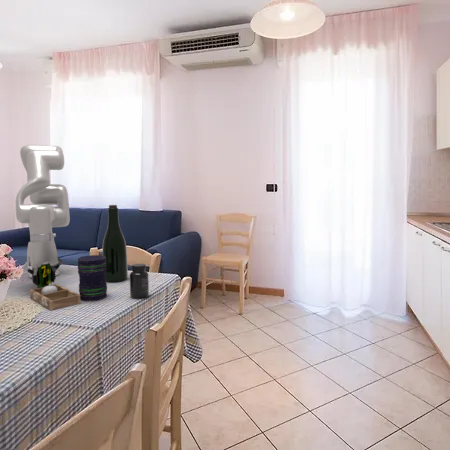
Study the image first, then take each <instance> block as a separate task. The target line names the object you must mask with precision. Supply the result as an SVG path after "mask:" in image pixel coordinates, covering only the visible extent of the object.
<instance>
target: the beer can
mask: <svg viewBox="0 0 450 450" xmlns="http://www.w3.org/2000/svg"><path fill="white" fill-rule="evenodd" d="M37 275H38V282H39V285H36V289H37V288H42V287H46V286H49V284H50V283H51V285H50V286H52V285H53V282H52V276H51V266H50V263H48V261H44V262H43V263H42V264H41V267H39V268H38V271H37Z"/></svg>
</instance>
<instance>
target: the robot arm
mask: <svg viewBox="0 0 450 450" xmlns="http://www.w3.org/2000/svg"><path fill="white" fill-rule="evenodd" d="M19 151H20V152H19V154H20V160H21V162H22V166H23V167H24V170H25V171H26V177H27V179H26V181H27V182H26V183H25V184H23V186H21V188H20V189H19V191H18V192H17V194H16V198H15V217H16V220H17V222H19V223H21V224H28V228H29V229H28V230H29V236H30V237H29V239H30V241H28V244H27V253H26V254H27V255H26V262H25V263H24V264H23V265H22V267H21V269H22V270H24V271H25V272H27V273H29V274H28V278H30V279H31V280H32V283H33V284H34V286H37V285H39V282H38V275H37V271H38V268H39V267H41V264H42V263H43V262H44V261H48V263H50V266H51V276H52V283H55V280H56V277H57V276H60V270H58V269H59V268H60V267H61V265H62V264H63V263H64V261H63V260H62V259H61V258H60V257H59V256H58V250H57V246H56V242H55V237H57V235H56V233H53V228H63V227H67V226H69V224H70V221H71V219H70V218H71V217H70V216H71V215H70V204H69V194H68V188H67V187H66V186H65V185H63V184H58V183H57V184H56V183H55V184H54V183H53V184H51V177H50V176H51V175H50V171H51V170H52V171H61V170H63V169H64V167H65V156H64V152H63V149H62V148H61V146H59V145H48V144H47V145H46V144H45V145H44V144H27V145H23V146H21V148H20V150H19ZM28 197H29V199H30V202H31V204H24V201H25V200H26V198H28ZM54 205H56V206H54ZM29 267H31V268H29Z"/></svg>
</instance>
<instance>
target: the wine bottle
mask: <svg viewBox="0 0 450 450" xmlns="http://www.w3.org/2000/svg"><path fill="white" fill-rule="evenodd" d="M107 215H108V216H107V219H108V220H107V228H106V231H105V234H104V238H103V241H102V249H101V251H102V256H105V257H106V259H105V261H106V272H105V274H106V282H107V283H118V282H123V281H125V280H127V279H128V278H129V276H128V275H129V274H128V273H129V271H128V255H127V254H128V253H127V244H126V243H127V242H126V239H125V236H124V234H123V232H122V228H121V226H120V220H119V218H120V217H119V207H118V205H116V204H109V205H108V208H107Z"/></svg>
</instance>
